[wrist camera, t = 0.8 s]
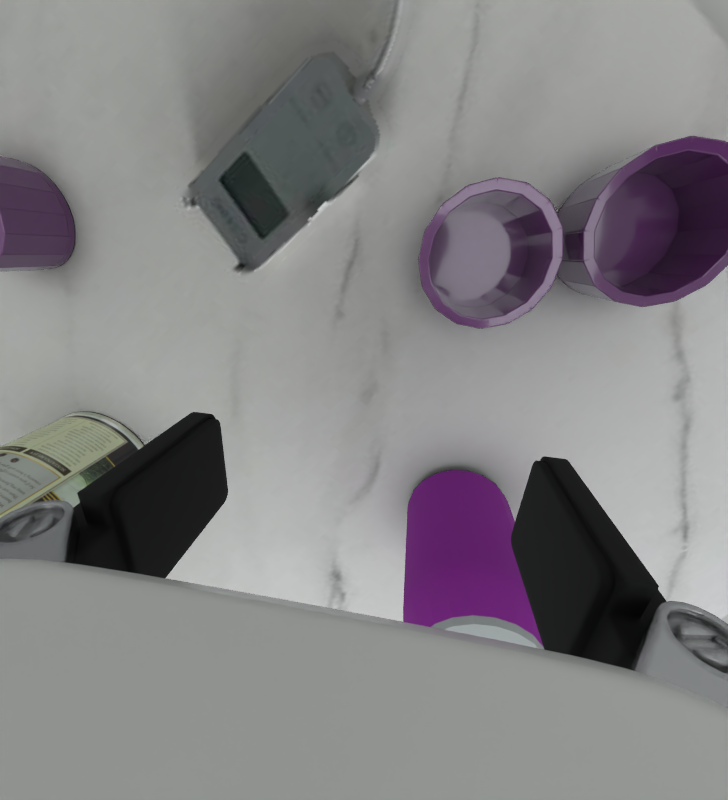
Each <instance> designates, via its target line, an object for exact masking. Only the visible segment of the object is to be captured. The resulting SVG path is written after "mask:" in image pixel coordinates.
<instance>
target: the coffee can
mask: <svg viewBox="0 0 728 800" xmlns="http://www.w3.org/2000/svg"><path fill="white" fill-rule="evenodd" d="M143 446H144V445H143V444H142V442H141V441H140V440H139V439H138V438H137V437H136V436H135V435H134V434H133V433H132V432H131V431H130V430H128V429H127V428H126V427H125V426H123V425H122V424H120V423H119V422H117V421H115V420H113V419H111V418H109V417H106V416H103V415H100V414H96V413H92V412H76V413H71V414H69V415H66V416H64V417H62V418H61V419H59V420H57V421H56V422H53V423H51V424H49V425H47V426H45V427H43V428H40V429H38V430H36V431H34V432H31V433H29V434H27V435H25V436H23V437H21V438H18V439H16V440H14V441H12V442H10V443H7V444H5V445H3V446H1V447H0V518H1V517H3V516H4V515H6V514H8V513H9V512H11V511H14V510H16V509H18V508H21V507H23V506H26V505H29V504H33V503H36V502H41V501H47V500H62V501H66V502H68V503H70V504H71V505H72V506H73V507H75V506H76V505H77V504H79V503H80V500H79V497H78V494H77V493H78V492H79V491H80V490H82V489H83V488H85V487H86V486H88V485H89V484H90V483H92V482H93V481H95V480H96V479H98V478H99V477H100V476H102V475H103V474H105V473H106V472H108V471H109V470H110V469H112V468H113V467H115V466H116V465H118V464H119V463H120V462H122V461H123V460H125V459H126V458H128V457H129V456H130V455H132V454H133V453H135V452H136V451H138V450H139V449H140V448H142V447H143Z"/></svg>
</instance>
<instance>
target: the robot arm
mask: <svg viewBox="0 0 728 800" xmlns="http://www.w3.org/2000/svg"><path fill="white" fill-rule="evenodd" d="M77 494H78V497H79V500H80V503H79V504H77V505H76V506H75V507H73V506H72V505H71V504H70V503H68V502H66V501H62V500H47V501H41V502H36V503H33V504H29V505H26V506H23V507H21V508H18V509H16V510H14V511H11V512H9V513H8V514H6V515H4V516H3V517H1V518H0V800H728V624H727V623H725V622H724V621H722V620H721V619H719V618H718V617H716V616H715V615H713V614H711V613H709V612H707V611H705V610H703V609H701V608H699V607H696V606H693V605H690V604H687V603H684V602H676V601H668V602H667V601H666V600H665V599H664V597H663V596H662V594H661V593H660V592H659V590H658V587H659V586H658V584H657V583H656V582H655V580H654V579H653V577H652V576H651V575H650V573H649V572H648V571H647V569H646V568H645V566H644V565H643V564H642V562H641V561H640V559H639V558H638V557H637V555H636V554H635V553H634V551H633V550H632V548H631V547H630V546H629V544H628V543H627V541H626V540H625V539H624V537H623V536H622V535H621V533H620V532H619V530H618V529H617V528H616V526H615V525H614V524H613V522H612V521H611V519H610V518H609V517H608V515H607V514H606V512H605V511H604V510H603V508H602V507H601V506H600V504H599V503H598V501H597V500H596V499H595V497H594V496H593V494H592V493H591V492H590V490H589V489H588V488H587V486H586V485H585V483H584V482H583V481H582V479H581V478H580V476H579V475H578V474H577V472H576V471H575V470H574V468H573V467H572V465H571V464H570V463H569V461H568V460H566V459H560V458H552V457H542V459H541V460H540V461H535V462H534V463H533V466H532V469H531V472H530V475H529V479H528V482H527V485H526V488H525V492H524V495H523V498H522V501H521V505H520V508H519V511H518V514H517V518H516V521H515V524H514V527H513V531H512V534H511V545H512V549H513V552H514V555H515V559H516V562H517V565H518V568H519V571H520V574H521V577H522V581H523V584H524V587H525V590H526V593H527V596H528V599H529V603H530V606H531V609H532V612H533V615H534V618H535V621H536V625H537V628H538V631H539V634H540V637H541V640H542V643H543V647H544V649H539V648H534V647H529V646H524V645H519V644H515V643H510V642H505V641H500V640H495V639H490V638H485V637H479V636H474V635H469V634H464V633H458V632H453V631H448V630H443V629H437V628H432V627H427V626H422V625H416V624H411V623H406V622H401V621H395V620H390V619H385V618H380V617H374V616H369V615H363V614H358V613H353V612H347V611H342V610H336V609H331V608H326V607H320V606H315V605H310V604H304V603H299V602H293V601H288V600H282V599H277V598H271V597H266V596H260V595H255V594H250V593H244V592H238V591H233V590H227V589H222V588H216V587H210V586H205V585H199V584H194V583H188V582H182V581H177V580H171V579H165V578H166V577H167V575H168V574H169V573H170V571H171V570H172V569H173V568H174V566H175V565H176V564H177V562H178V561H179V560H180V559H181V557H182V556H183V555H184V553H185V552H186V551H187V550H188V548H189V547H190V546H191V545H192V543H193V542H194V541H195V539H196V538H197V537H198V536H199V534H200V533H201V532H202V530H203V529H204V528H205V527H206V525H207V524H208V523H209V521H210V520H211V519H212V518H213V516H214V515H215V514H216V513H217V511H218V510H219V509H220V507H221V506H222V505H223V504H224V502H225V500H226V498H227V495H228V487H227V478H226V470H225V461H224V452H223V444H222V435H221V427H220V422H219V421H218V420H216V419H215V417H214V415H212V414H206V413H198V412H193V413H190V414H189V415H188V416H186V417H185V418H183V419H182V420H180V421H179V422H178V423H176V424H175V425H173V426H172V427H170V428H169V429H168V430H166V431H165V432H163V433H162V434H160V435H159V436H158V437H156V438H155V439H153V440H152V441H150V442H149V443H148V444H146V445H145V446H143V447H142V448H140V449H139V450H138V451H136V452H135V453H133V454H132V455H130V456H129V457H128V458H126V459H125V460H123V461H122V462H120V463H119V464H118V465H116V466H115V467H113V468H112V469H110V470H109V471H108V472H106V473H105V474H103V475H102V476H100V477H99V478H98V479H96V480H95V481H93V482H92V483H90V484H89V485H88V486H86V487H85V488H83V489H82V490H80V491H79V492H78V493H77Z"/></svg>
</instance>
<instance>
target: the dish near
mask: <svg viewBox="0 0 728 800" xmlns="http://www.w3.org/2000/svg"><path fill="white" fill-rule="evenodd" d="M558 218H559V220H560V222H561V224H562V228H563V257H562V258H563V259H562V262H561V264H560V267H559V270H558V272H557V275H558V276H559V278H560V279H561V280H562V281H563V282H564V283H565V284H566V285H567V286H569V287H570V288H572V289H573V290H575V291H578V292H579V293H581V294H585V295H589V296H593V297H597V298H602V299H606V300H610V301H614V302H619V303H624V304H629V305H634V306H639V307H647V306H653V305H658V304H664V303H670V302H674V301H677V300H679V299H681V298H683V297H685V296H686V295H688V294H690V293H692V292H694V291H696V290H698V289H700V288H702V287H704V286H706V285H707V284H708V283H710V282H711V281H712V280H713V279H714V278H715V277H716V276H717V275H718V274H719V273H720V272H721V271H722V270H723V269H724V268H725V267H727V266H728V142H726V141H722V140H716V139H710V138H704V137H698V136H688V137H685V138H681V139H677V140H673V141H669V142H665V143H662V144H658V145H655V146H653V147H651V148H648V149H646V150H644V151H642V152H640V153H638V154H635V155H633V156H631V157H629V158H627V159H625V160H622V161H620V162H618V163H616V164H614V165H611V166H609V167H607V168H605V169H604V170H602V171H601V172H599V173H597V174H596V175H594V176H592V177H591V178H589V179H588V180H586V181H585V182H584V183H582V184H581V185H580V186H579V187H578V188H577V189H576V190H575V191H574V192H573V193H572V194H571V195H570V196H569V198H568V199H567V200H566V202H565V203H564V205H563V206H562V208H561V209H560V211H559V213H558Z"/></svg>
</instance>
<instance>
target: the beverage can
mask: <svg viewBox="0 0 728 800" xmlns="http://www.w3.org/2000/svg"><path fill="white" fill-rule="evenodd" d="M514 524H515V521H514V518H513V516H512V513H511V510H510V507H509V505H508V502H507V500H506V498H505V496H504V494H503V493H502V492H501V490H500V489H499V488H498V487H497V485H496V484H495V483H493V482H492V481H490V480H489V479H487V478H486V477H484V476H483V475H480V474H477V473H473V472H470V471H462V470H449V471H445V472H440V473H436V474H434V475H432V476H430V477H428V478H427V479H425V480H423V481H422V482H421V483H420V484H419V485H418V486H417V487H416V488H415V489H414V491H413V493H412V495H411V498H410V500H409V504H408V512H407V536H406V559H405V583H404V606H403V619H404V622H406V623H411V624H416V625H422V626H427V627H432V628H437V629H443V630H448V631H453V632H458V633H464V634H469V635H474V636H479V637H485V638H490V639H495V640H500V641H505V642H510V643H515V644H519V645H524V646H529V647H534V648H539V649H544V647H543V643H542V640H541V637H540V634H539V631H538V628H537V625H536V621H535V618H534V615H533V612H532V609H531V606H530V603H529V599H528V596H527V593H526V590H525V587H524V584H523V581H522V577H521V574H520V571H519V568H518V565H517V562H516V559H515V555H514V552H513V549H512V545H511V534H512V531H513V527H514Z"/></svg>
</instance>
